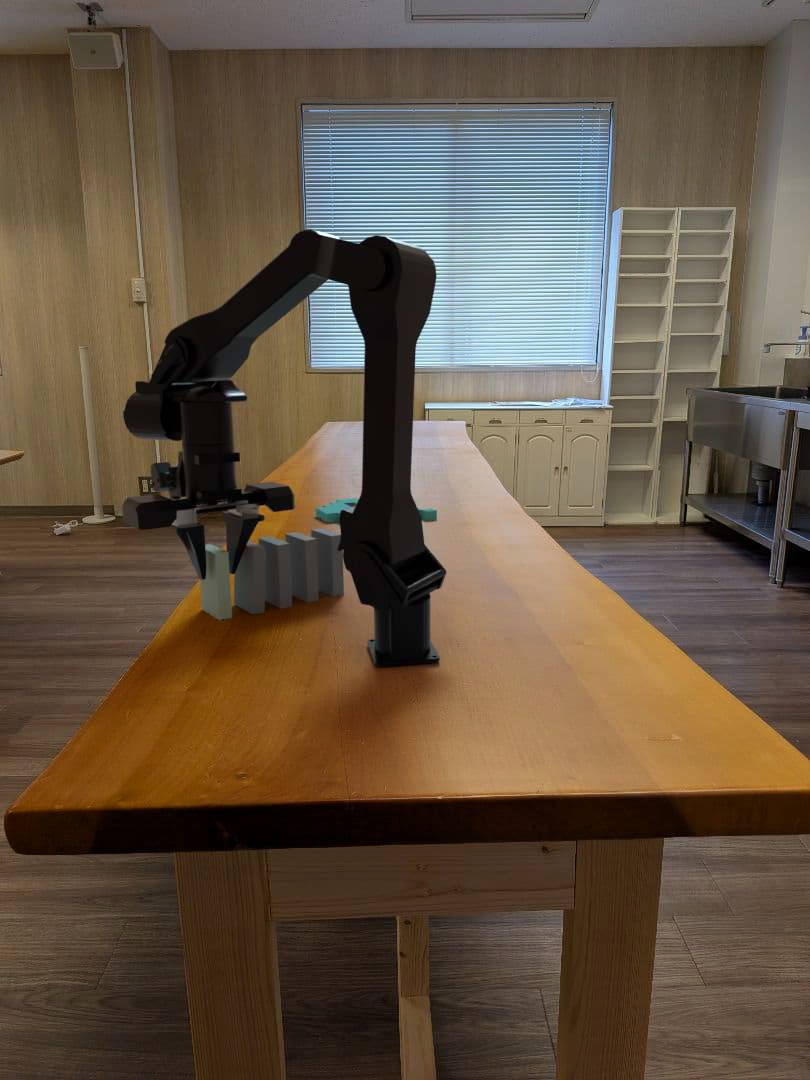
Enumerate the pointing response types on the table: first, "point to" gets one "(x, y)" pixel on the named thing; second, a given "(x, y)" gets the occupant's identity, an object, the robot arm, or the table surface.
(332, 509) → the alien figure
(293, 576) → the domino
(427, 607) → the robot arm
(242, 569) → the domino
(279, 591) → the domino
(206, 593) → the sage domino
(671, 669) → the table surface
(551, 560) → the table surface
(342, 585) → the domino
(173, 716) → the table surface
